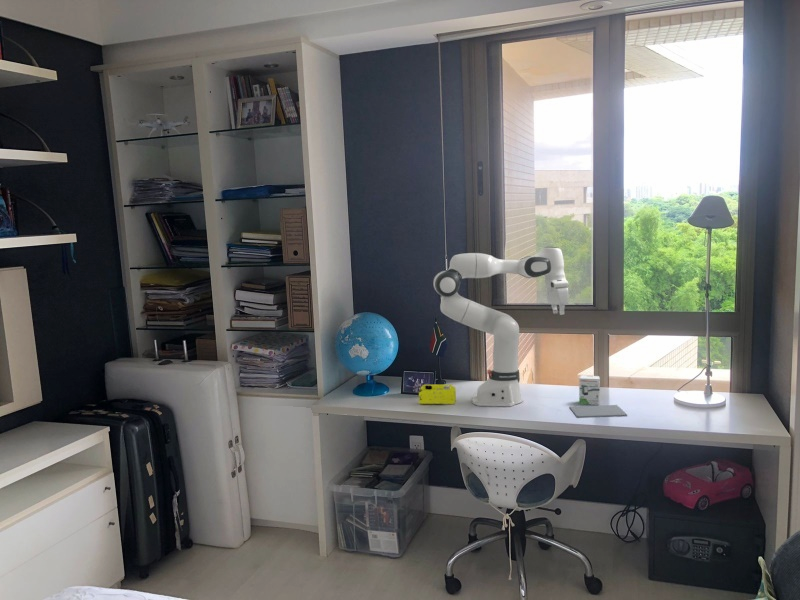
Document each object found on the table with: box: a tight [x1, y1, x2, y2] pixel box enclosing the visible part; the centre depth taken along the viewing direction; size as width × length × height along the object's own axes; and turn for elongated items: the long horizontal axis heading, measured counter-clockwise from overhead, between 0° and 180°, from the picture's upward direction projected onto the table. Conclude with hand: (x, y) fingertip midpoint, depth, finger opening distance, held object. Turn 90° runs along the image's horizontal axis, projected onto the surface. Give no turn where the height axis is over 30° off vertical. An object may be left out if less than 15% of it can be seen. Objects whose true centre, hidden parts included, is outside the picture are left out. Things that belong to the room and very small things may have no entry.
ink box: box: [578, 374, 601, 406], centre depth 279 cm, size 9×5×12 cm, turn 71°
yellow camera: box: [418, 384, 457, 405], centre depth 290 cm, size 16×6×8 cm, turn 79°
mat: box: [569, 404, 628, 419], centre depth 267 cm, size 20×14×1 cm
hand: (558, 314), depth 284 cm, fingers open, 8 cm apart
